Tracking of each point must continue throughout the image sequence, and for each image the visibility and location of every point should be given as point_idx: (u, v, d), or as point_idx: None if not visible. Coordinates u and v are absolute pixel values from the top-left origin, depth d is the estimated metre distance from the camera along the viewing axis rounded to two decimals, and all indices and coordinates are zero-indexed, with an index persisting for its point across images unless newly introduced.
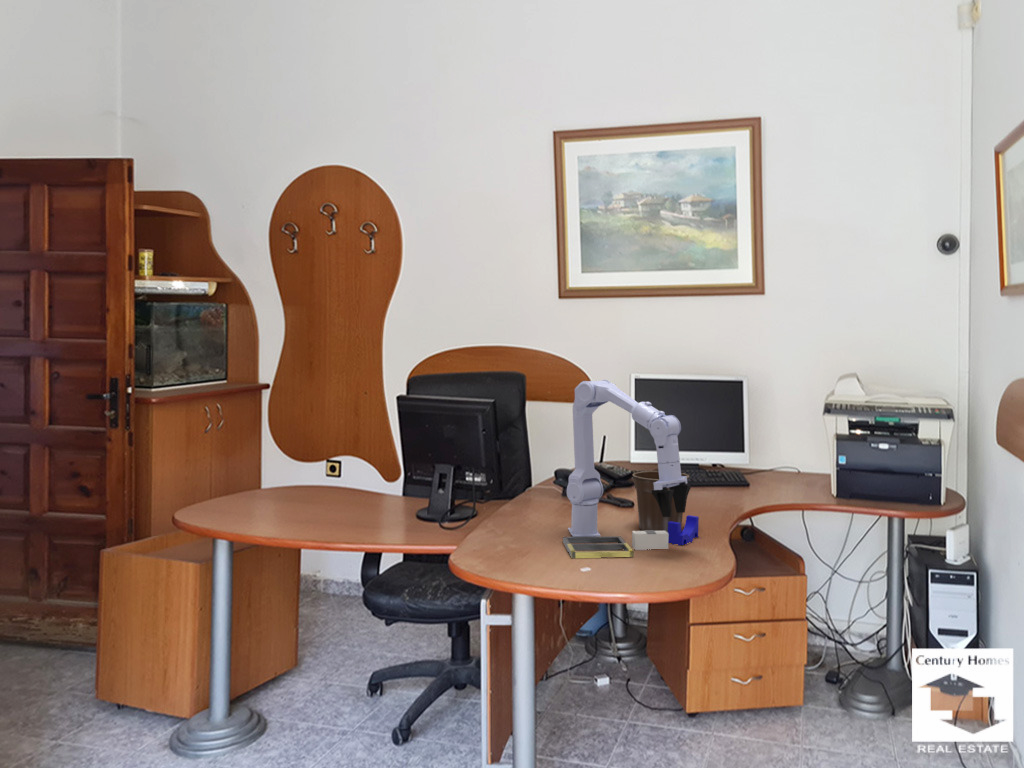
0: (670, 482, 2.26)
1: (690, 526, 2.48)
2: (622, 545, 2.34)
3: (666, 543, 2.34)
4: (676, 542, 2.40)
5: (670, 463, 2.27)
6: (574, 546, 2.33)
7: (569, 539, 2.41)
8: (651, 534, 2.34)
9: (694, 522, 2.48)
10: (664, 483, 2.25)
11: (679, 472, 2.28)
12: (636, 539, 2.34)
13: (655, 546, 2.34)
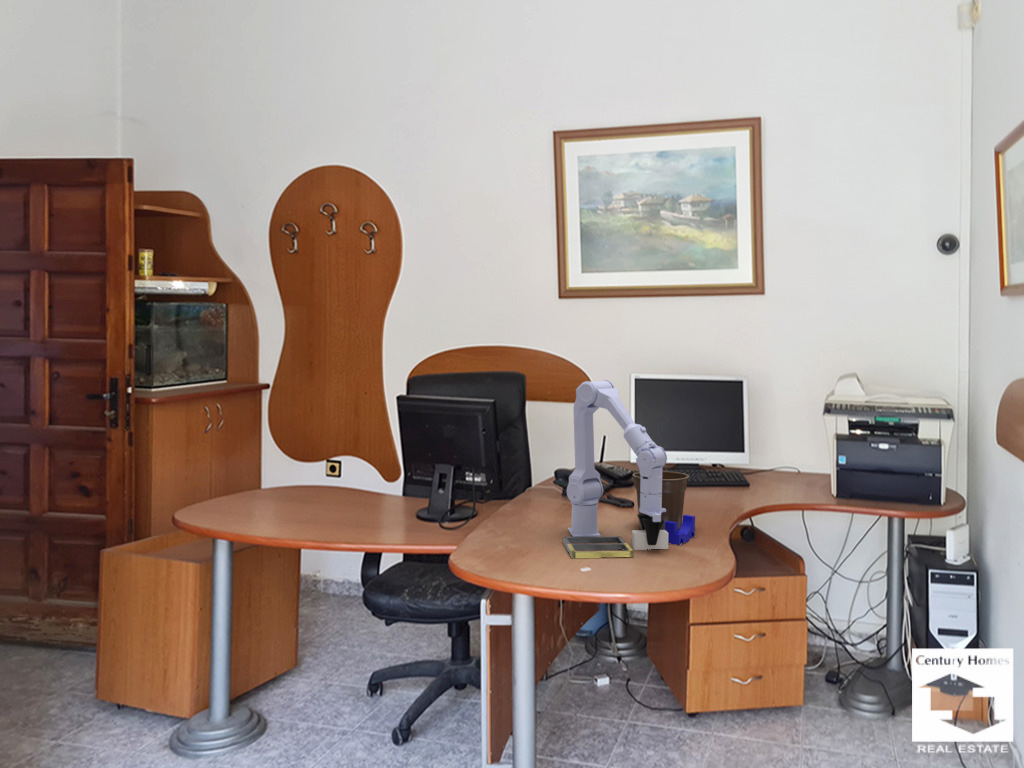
0: (661, 513, 2.32)
1: (686, 525, 2.48)
2: (622, 545, 2.34)
3: (666, 542, 2.34)
4: (673, 541, 2.40)
5: (659, 494, 2.33)
6: (574, 546, 2.33)
7: (569, 539, 2.41)
8: None
9: (691, 521, 2.48)
10: None
11: None
12: (636, 538, 2.34)
13: (655, 545, 2.34)
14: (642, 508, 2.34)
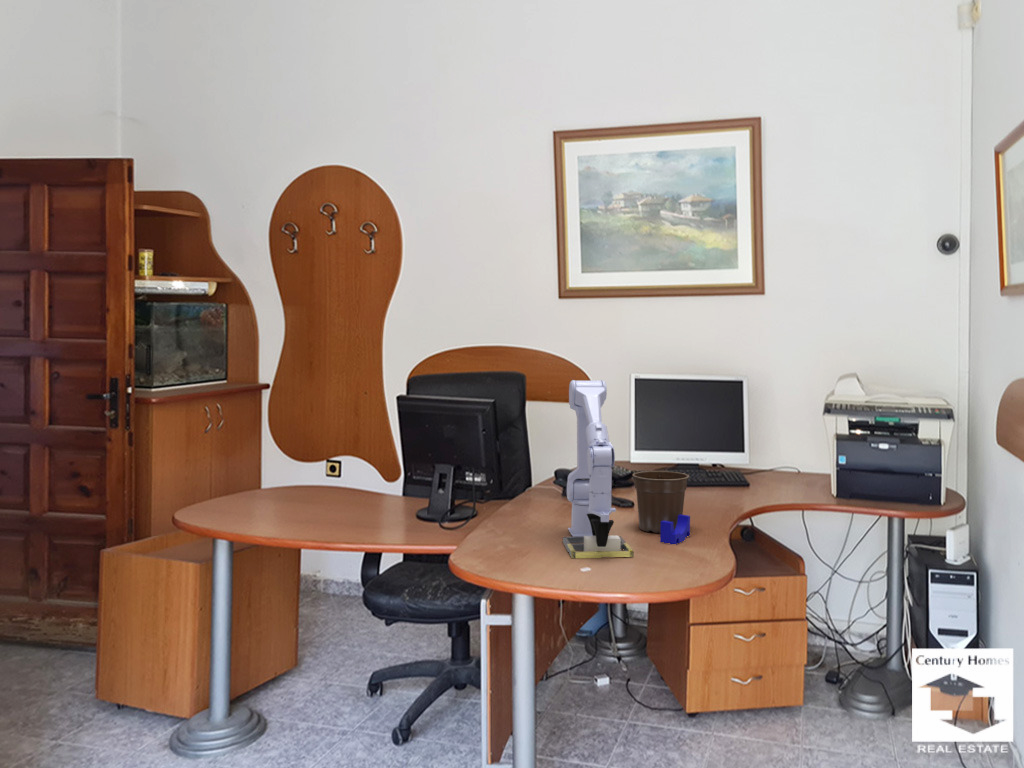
0: (610, 513, 2.26)
1: (682, 525, 2.49)
2: (622, 545, 2.34)
3: (618, 548, 2.28)
4: (669, 541, 2.41)
5: (608, 494, 2.27)
6: (574, 546, 2.33)
7: (569, 539, 2.41)
8: None
9: (686, 521, 2.49)
10: None
11: None
12: (587, 544, 2.28)
13: None
14: (591, 508, 2.28)
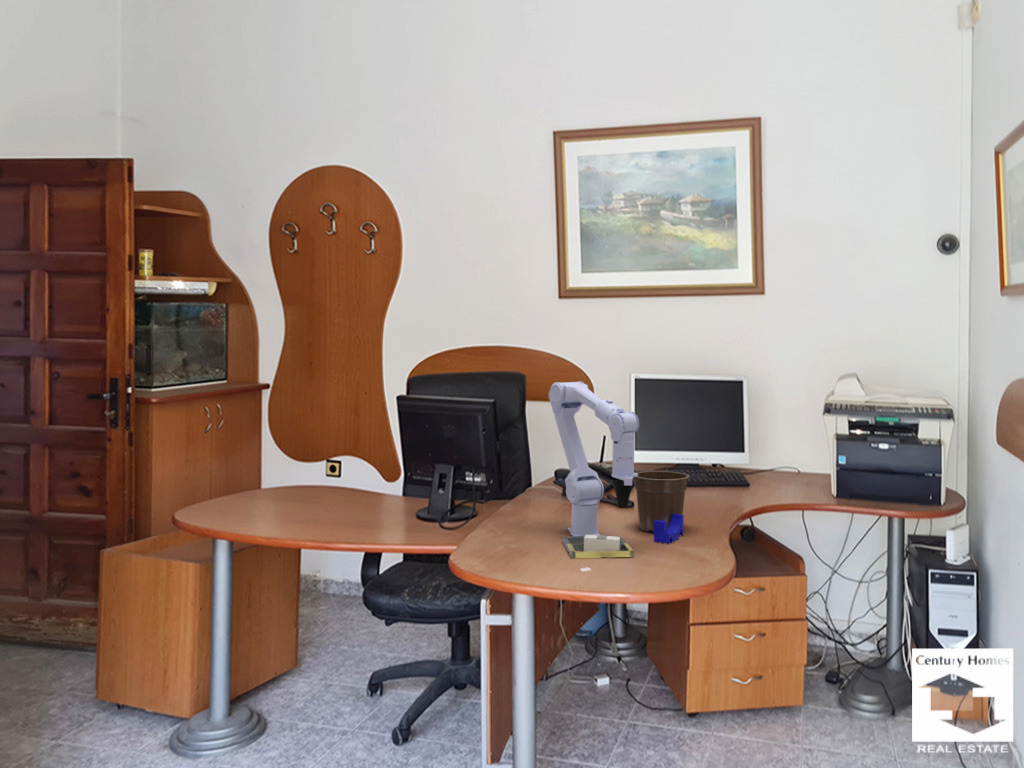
0: (632, 477, 2.34)
1: (675, 524, 2.50)
2: (622, 545, 2.34)
3: (616, 549, 2.27)
4: (662, 540, 2.42)
5: (631, 459, 2.35)
6: (574, 546, 2.33)
7: (569, 539, 2.41)
8: (600, 539, 2.28)
9: (679, 520, 2.50)
10: (631, 478, 2.32)
11: None
12: (585, 543, 2.29)
13: None
14: (614, 473, 2.36)
